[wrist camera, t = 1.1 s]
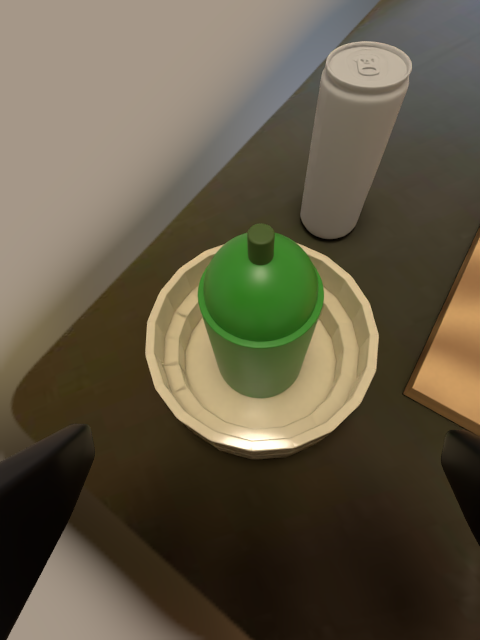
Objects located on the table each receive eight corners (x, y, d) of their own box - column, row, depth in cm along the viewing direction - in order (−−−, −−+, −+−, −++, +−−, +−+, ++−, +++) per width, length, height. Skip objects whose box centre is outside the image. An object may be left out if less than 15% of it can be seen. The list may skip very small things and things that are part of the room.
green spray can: (308, 394, 22) (360, 295, 11) (219, 401, 22) (179, 310, 11) (295, 315, 24) (326, 170, 13) (215, 322, 24) (181, 183, 13)
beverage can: (353, 200, 30) (407, 38, 19) (358, 243, 28) (422, 88, 17) (298, 200, 30) (321, 40, 20) (299, 242, 28) (325, 89, 17)
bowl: (375, 450, 21) (408, 439, 16) (163, 467, 21) (138, 460, 16) (334, 274, 26) (349, 230, 22) (169, 288, 27) (151, 247, 22)
